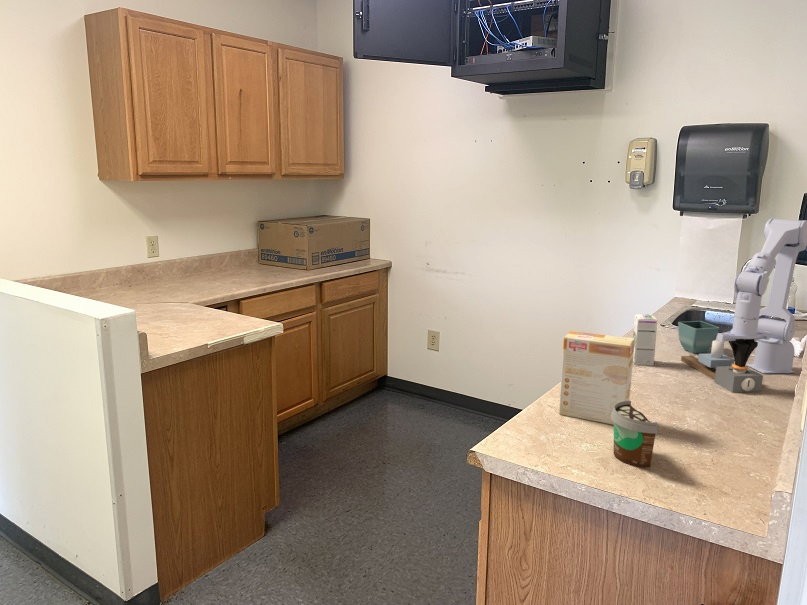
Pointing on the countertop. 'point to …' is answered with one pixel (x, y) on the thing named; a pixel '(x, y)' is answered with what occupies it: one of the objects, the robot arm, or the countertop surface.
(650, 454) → the food container
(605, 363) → the coffeecake box
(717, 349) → the carriage
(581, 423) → the countertop surface
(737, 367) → the button
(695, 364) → the rail
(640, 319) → the syrup box
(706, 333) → the flower pot
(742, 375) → the button box
